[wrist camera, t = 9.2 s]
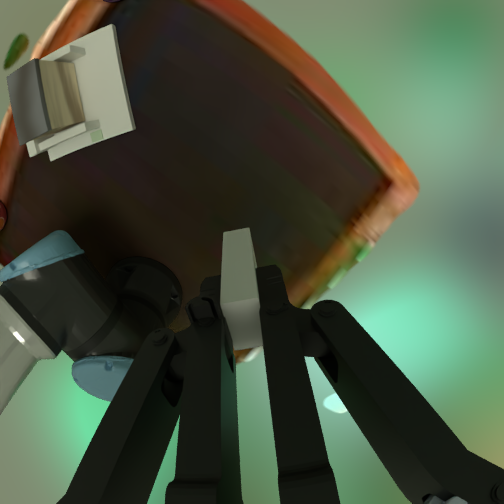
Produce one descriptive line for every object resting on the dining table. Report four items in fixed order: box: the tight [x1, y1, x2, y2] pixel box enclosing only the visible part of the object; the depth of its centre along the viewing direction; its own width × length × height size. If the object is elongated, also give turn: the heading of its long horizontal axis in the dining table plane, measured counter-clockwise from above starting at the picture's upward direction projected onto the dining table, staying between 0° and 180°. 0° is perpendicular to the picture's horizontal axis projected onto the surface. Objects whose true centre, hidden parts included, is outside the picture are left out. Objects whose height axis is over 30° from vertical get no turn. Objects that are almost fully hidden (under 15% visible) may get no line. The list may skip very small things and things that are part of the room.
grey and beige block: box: [7, 58, 85, 146], centre depth 30 cm, size 5×10×11 cm, turn 10°
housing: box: [26, 24, 136, 161], centre depth 33 cm, size 16×18×8 cm
